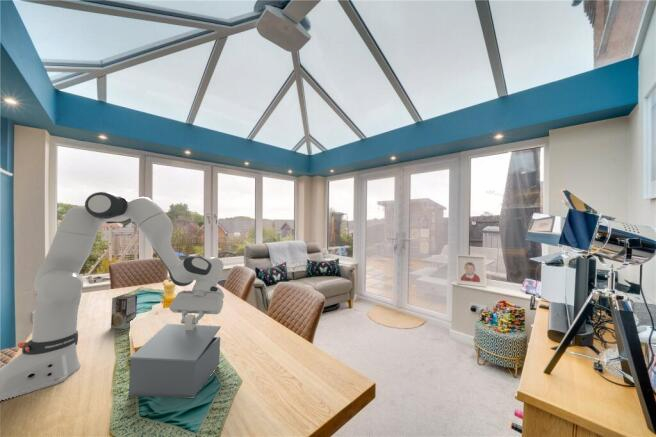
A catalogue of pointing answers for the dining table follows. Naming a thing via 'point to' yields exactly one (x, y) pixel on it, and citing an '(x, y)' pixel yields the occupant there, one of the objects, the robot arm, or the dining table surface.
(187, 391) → the carton
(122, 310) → the coffee box
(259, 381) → the dining table surface
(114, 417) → the dining table surface
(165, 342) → the grey box lid
